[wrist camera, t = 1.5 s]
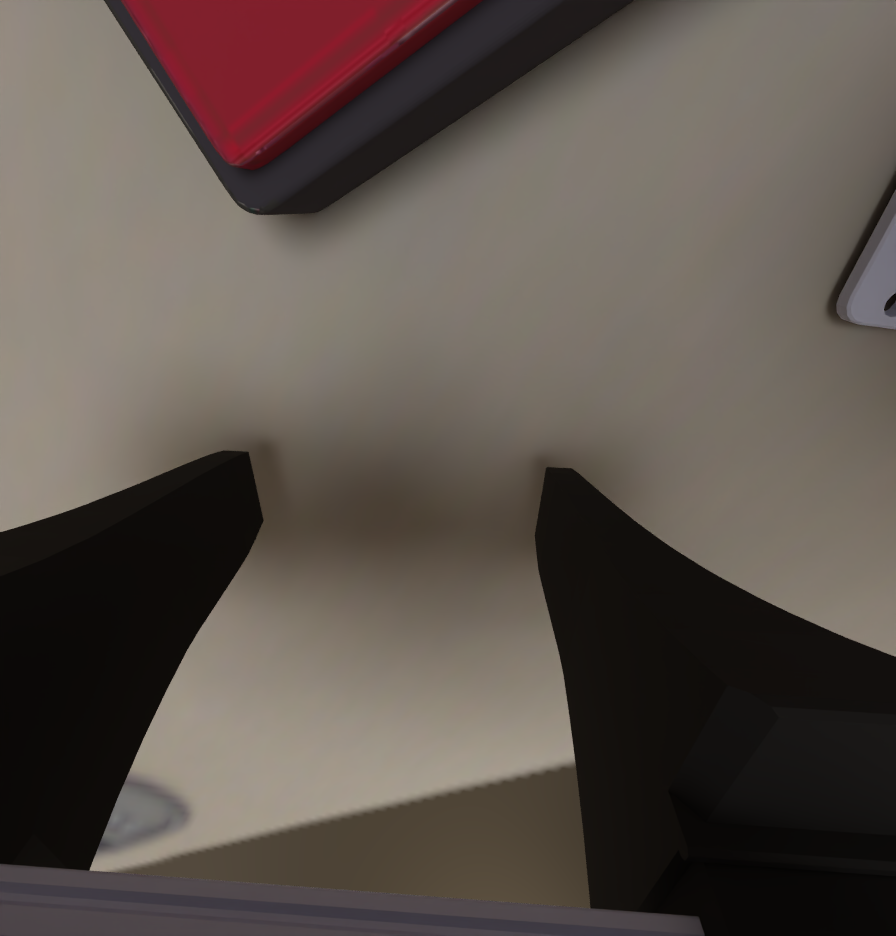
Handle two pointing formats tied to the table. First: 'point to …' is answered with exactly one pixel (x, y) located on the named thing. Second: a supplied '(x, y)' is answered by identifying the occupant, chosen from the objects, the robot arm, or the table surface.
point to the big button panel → (335, 80)
